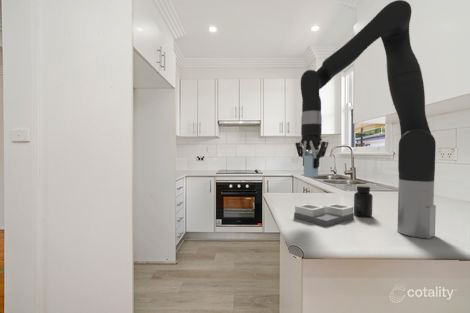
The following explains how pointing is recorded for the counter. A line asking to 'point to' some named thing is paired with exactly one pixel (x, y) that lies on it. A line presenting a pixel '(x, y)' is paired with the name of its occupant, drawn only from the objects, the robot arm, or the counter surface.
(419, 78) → the robot arm
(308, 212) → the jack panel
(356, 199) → the supplement bottle
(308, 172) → the plug
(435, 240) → the counter surface
